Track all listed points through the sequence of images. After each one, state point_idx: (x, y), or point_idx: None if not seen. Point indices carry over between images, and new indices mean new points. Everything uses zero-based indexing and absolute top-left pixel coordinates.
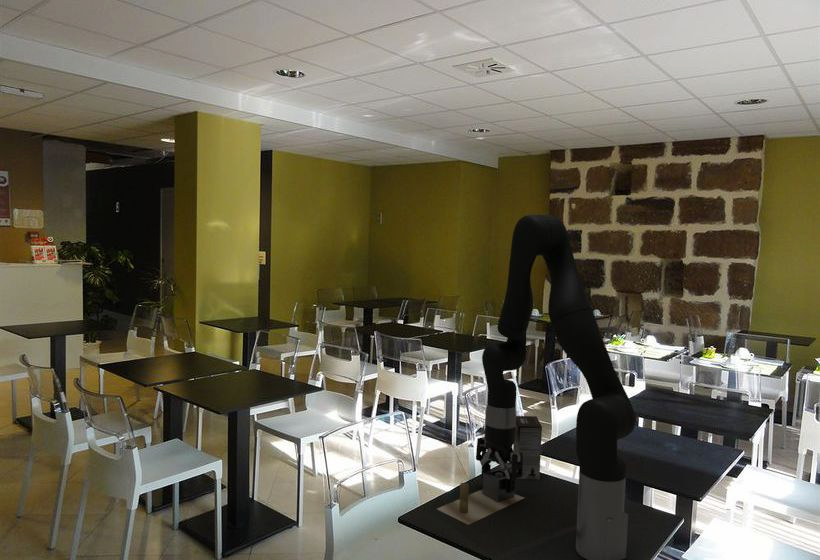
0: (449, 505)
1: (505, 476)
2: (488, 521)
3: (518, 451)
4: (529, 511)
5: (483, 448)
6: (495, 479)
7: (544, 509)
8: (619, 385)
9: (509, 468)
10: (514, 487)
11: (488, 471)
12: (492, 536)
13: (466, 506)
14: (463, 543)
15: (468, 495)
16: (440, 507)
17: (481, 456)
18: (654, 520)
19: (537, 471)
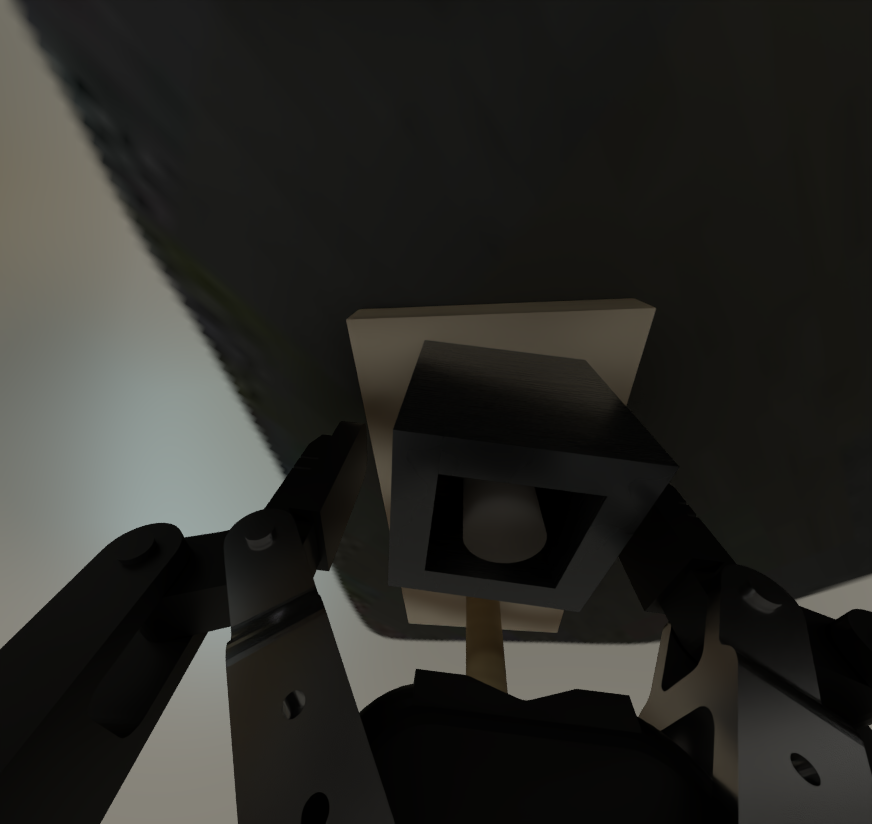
0: (415, 595)
1: (586, 540)
2: None
3: None
4: (705, 360)
5: (44, 811)
6: (540, 601)
7: (812, 249)
8: None
9: (707, 673)
10: (680, 502)
11: (396, 554)
12: (635, 593)
13: (501, 627)
14: (579, 642)
15: (502, 672)
16: (409, 614)
17: (174, 625)
18: None
19: None
